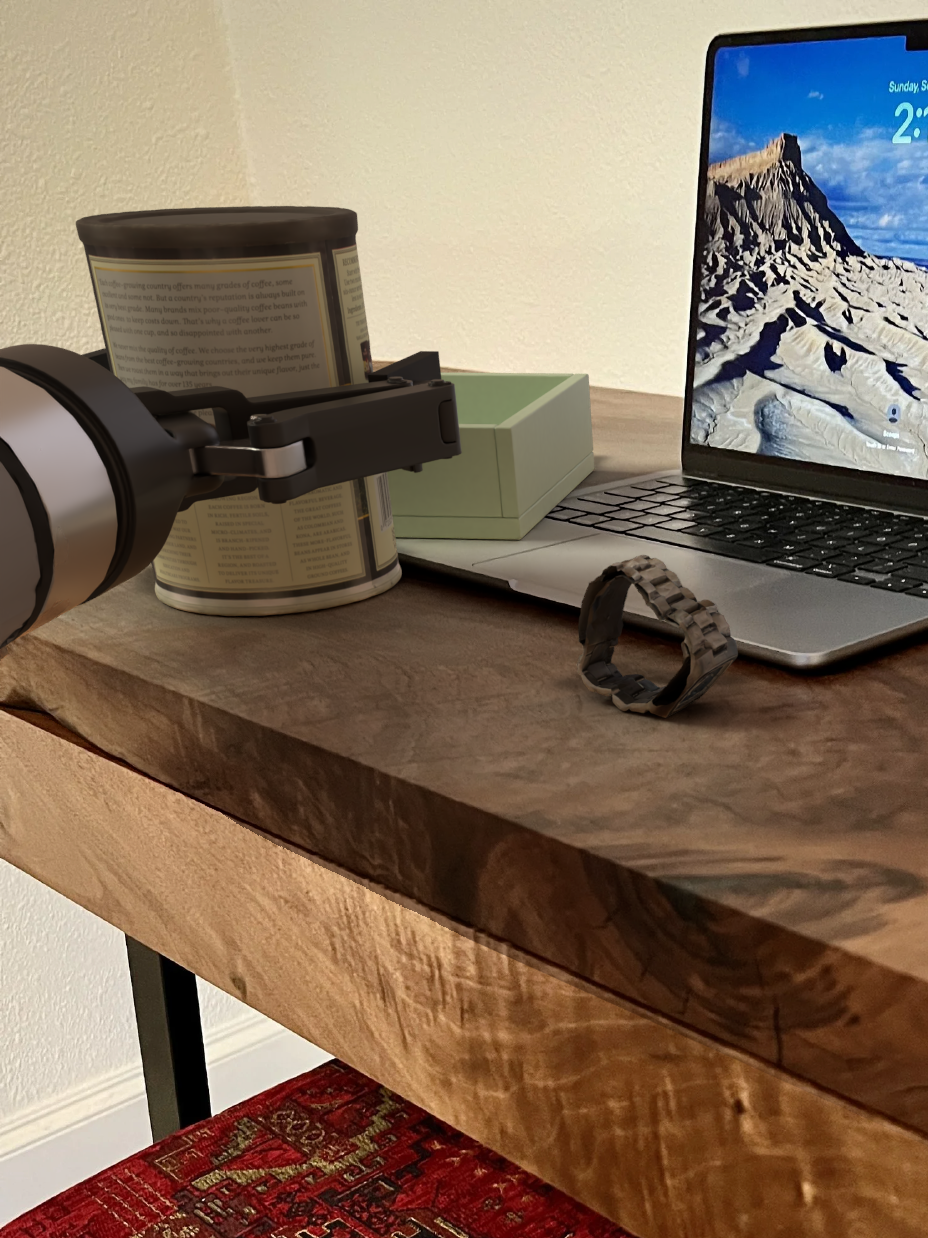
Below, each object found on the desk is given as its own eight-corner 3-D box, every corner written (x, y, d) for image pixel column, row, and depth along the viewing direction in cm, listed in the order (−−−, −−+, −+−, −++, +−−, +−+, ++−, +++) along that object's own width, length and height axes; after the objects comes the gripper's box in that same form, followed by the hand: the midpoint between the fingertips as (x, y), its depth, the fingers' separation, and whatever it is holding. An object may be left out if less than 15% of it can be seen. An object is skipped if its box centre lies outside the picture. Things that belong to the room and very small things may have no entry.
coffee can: (126, 576, 70) (48, 212, 62) (355, 544, 74) (307, 202, 67) (190, 632, 62) (109, 225, 55) (439, 593, 67) (395, 213, 60)
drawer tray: (181, 533, 76) (160, 423, 74) (307, 465, 91) (293, 370, 88) (521, 540, 75) (511, 427, 72) (595, 469, 89) (588, 373, 87)
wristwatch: (628, 756, 54) (711, 663, 51) (543, 634, 54) (620, 534, 51) (684, 740, 56) (767, 649, 53) (602, 623, 57) (680, 526, 53)
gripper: (-329, 605, 52) (14, 473, 70) (420, 625, 49) (574, 483, 67) (-419, 355, 48) (-31, 284, 66) (388, 362, 45) (561, 287, 64)
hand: (275, 384), depth 67 cm, fingers open, 13 cm apart
